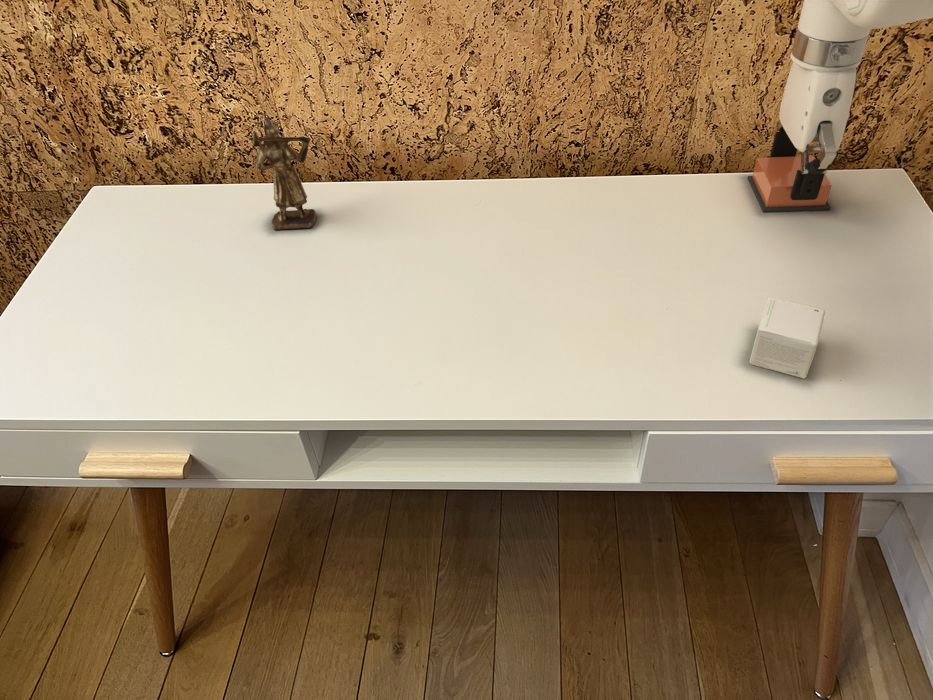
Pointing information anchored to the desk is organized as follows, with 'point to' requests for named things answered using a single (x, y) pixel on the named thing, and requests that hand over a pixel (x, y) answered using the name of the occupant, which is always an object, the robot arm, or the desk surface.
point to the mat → (783, 209)
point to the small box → (787, 337)
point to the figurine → (284, 176)
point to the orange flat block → (783, 182)
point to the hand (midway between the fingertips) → (791, 178)
